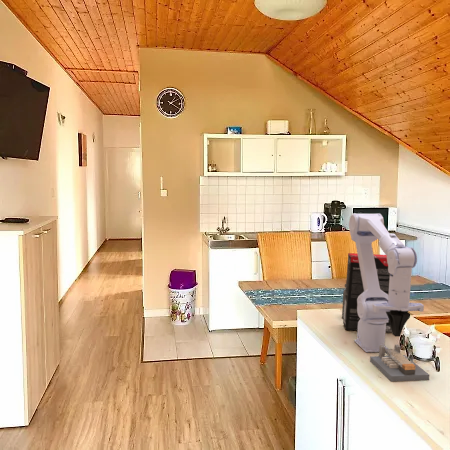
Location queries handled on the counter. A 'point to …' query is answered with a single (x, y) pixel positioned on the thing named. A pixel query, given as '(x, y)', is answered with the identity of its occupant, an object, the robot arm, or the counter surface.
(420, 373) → the heatsink base
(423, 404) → the counter surface
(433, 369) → the counter surface
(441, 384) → the counter surface
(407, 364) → the orange-ended grey bar
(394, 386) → the counter surface
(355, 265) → the graphics card box
